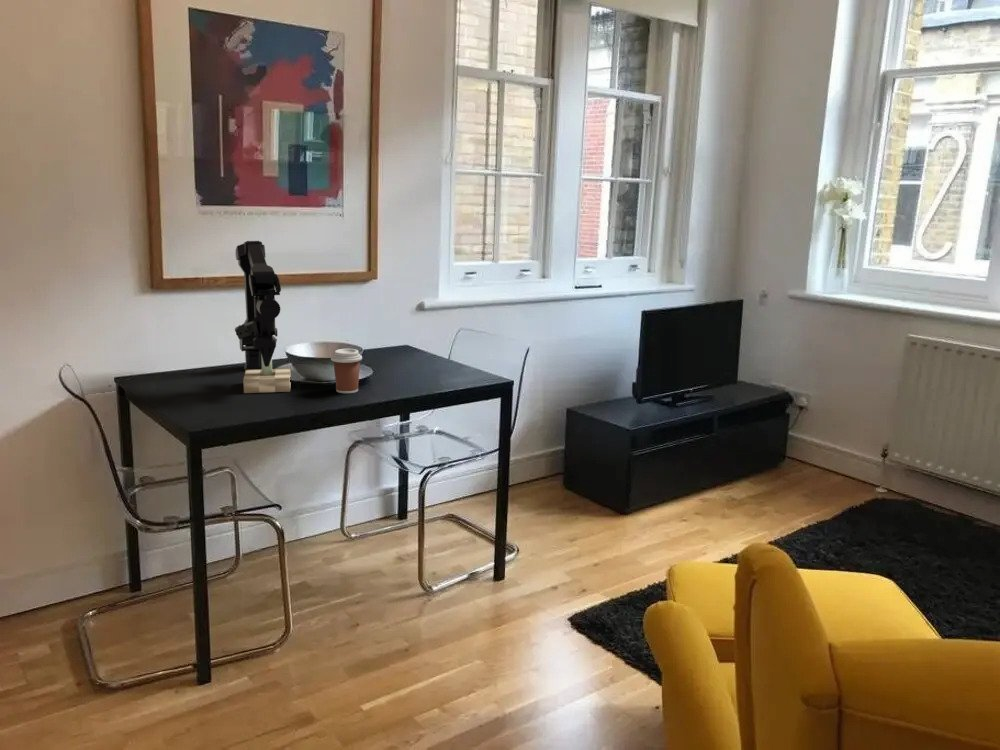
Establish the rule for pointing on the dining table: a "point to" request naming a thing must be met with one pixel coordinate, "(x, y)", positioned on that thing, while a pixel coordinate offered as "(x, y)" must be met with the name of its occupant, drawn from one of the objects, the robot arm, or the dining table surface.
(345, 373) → the coffee cup
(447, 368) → the dining table surface
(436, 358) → the dining table surface
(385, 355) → the dining table surface
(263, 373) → the peg
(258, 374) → the hole board
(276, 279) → the robot arm
